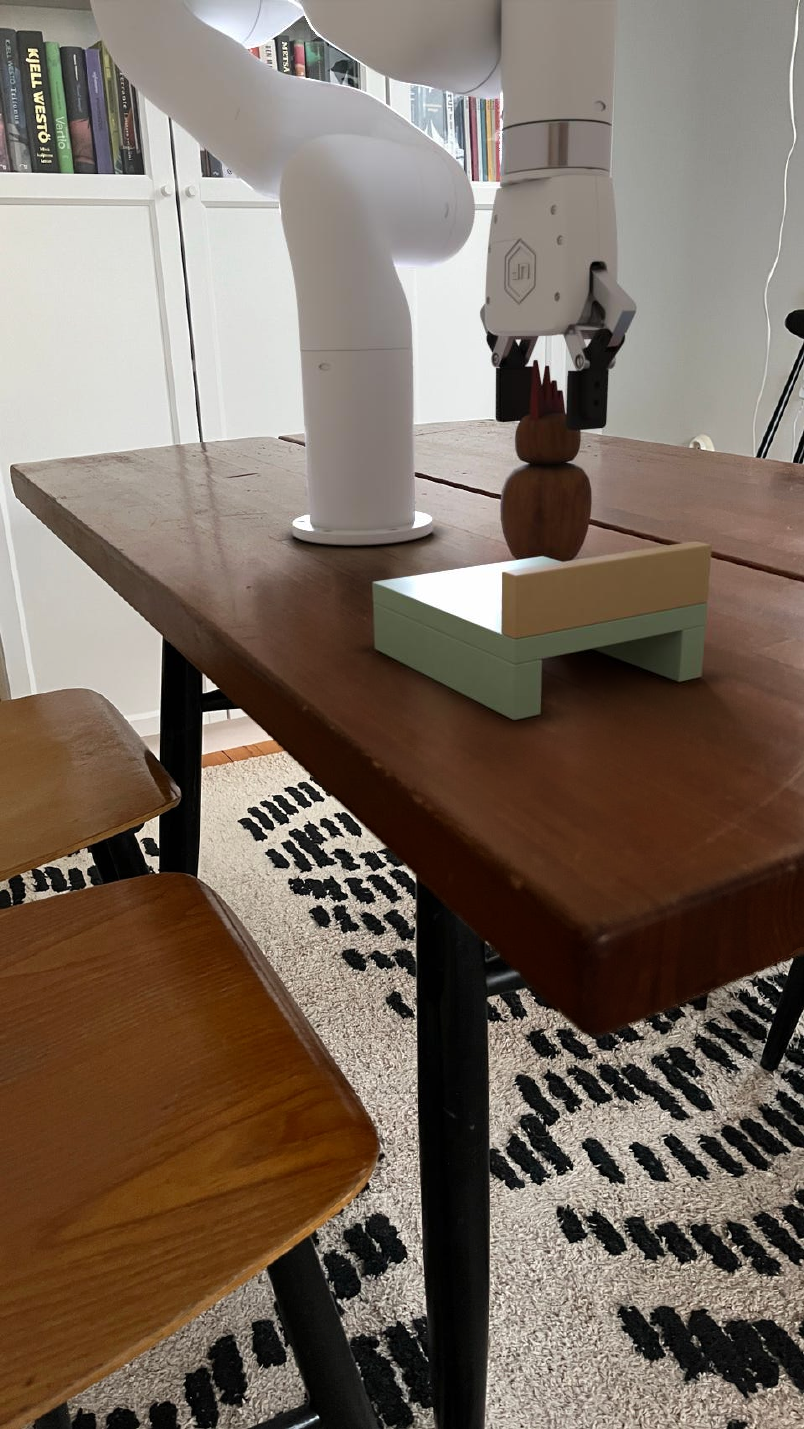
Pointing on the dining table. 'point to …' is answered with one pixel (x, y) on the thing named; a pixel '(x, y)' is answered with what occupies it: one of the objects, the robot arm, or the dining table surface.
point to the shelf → (546, 619)
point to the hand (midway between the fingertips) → (548, 423)
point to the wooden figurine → (546, 481)
